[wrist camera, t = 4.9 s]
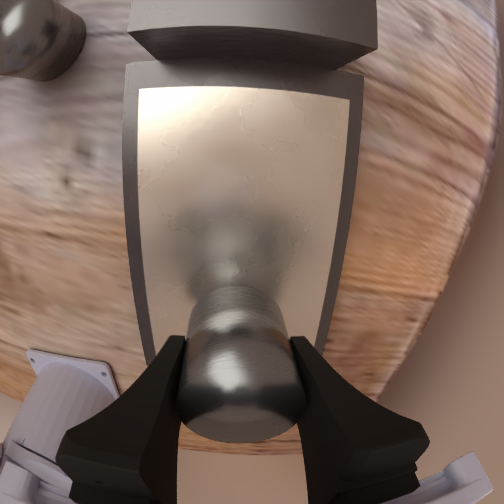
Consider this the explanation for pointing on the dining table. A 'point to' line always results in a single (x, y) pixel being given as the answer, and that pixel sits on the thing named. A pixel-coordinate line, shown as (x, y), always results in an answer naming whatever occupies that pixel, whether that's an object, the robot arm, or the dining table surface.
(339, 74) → the scale
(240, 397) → the cylinder
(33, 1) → the ball
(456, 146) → the dining table surface
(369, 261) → the dining table surface
